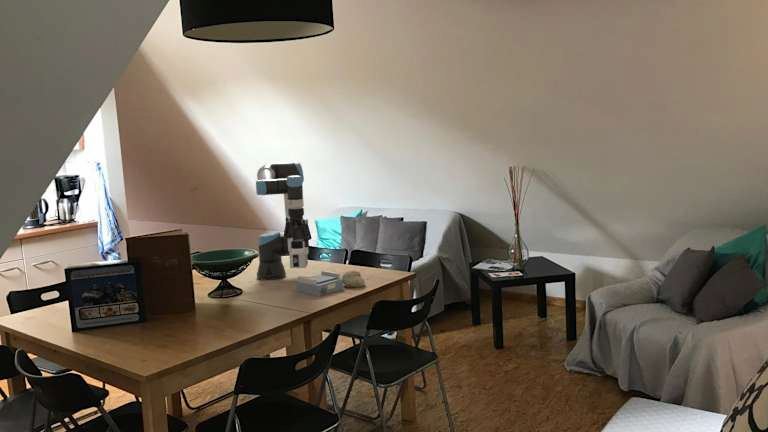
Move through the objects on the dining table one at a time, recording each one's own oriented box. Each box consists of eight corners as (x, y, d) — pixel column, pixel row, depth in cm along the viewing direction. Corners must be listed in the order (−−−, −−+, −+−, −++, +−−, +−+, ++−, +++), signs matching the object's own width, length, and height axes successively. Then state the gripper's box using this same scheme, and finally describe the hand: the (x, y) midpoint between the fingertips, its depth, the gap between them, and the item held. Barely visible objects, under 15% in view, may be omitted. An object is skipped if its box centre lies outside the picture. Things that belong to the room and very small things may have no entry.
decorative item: (334, 279, 325) (343, 267, 332) (341, 294, 328) (349, 281, 336) (355, 278, 319) (364, 266, 326) (362, 293, 322) (370, 280, 330)
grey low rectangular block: (295, 291, 321) (295, 276, 320) (320, 284, 333) (319, 270, 332) (320, 296, 310) (319, 280, 309) (344, 289, 321) (344, 274, 320)
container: (305, 267, 326) (304, 241, 324) (290, 268, 326) (288, 242, 324) (307, 264, 334) (306, 238, 332) (292, 264, 334) (290, 239, 332)
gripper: (274, 207, 331) (277, 251, 334) (305, 210, 315) (308, 256, 319) (286, 205, 336) (289, 248, 340) (317, 208, 321) (320, 253, 324)
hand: (298, 252), depth 329 cm, fingers closed on container, 10 cm apart
